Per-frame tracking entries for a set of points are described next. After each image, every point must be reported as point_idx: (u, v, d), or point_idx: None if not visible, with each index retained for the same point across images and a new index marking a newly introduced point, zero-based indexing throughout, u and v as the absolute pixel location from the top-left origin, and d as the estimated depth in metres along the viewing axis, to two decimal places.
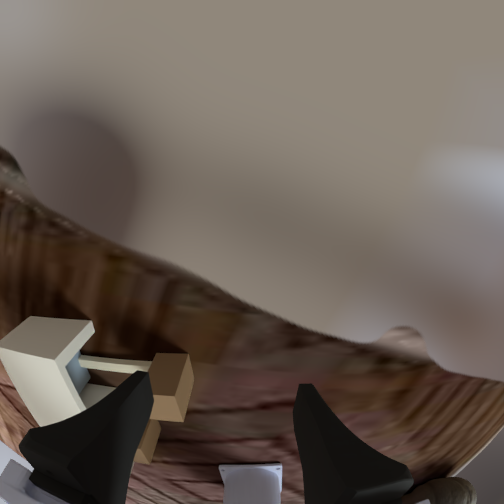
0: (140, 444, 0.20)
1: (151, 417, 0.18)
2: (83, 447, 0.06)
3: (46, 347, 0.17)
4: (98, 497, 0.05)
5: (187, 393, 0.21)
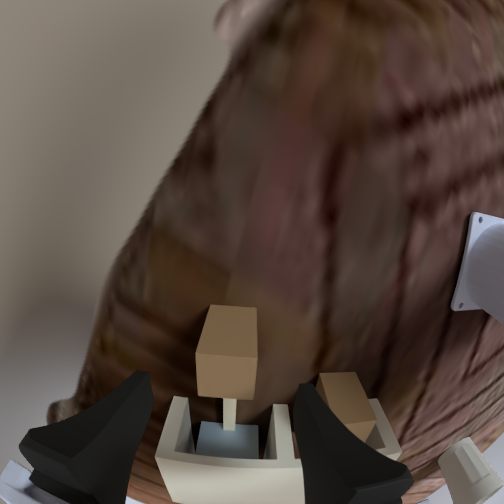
0: None
1: (249, 395, 0.14)
2: (83, 447, 0.06)
3: None
4: (98, 497, 0.05)
5: (243, 328, 0.15)
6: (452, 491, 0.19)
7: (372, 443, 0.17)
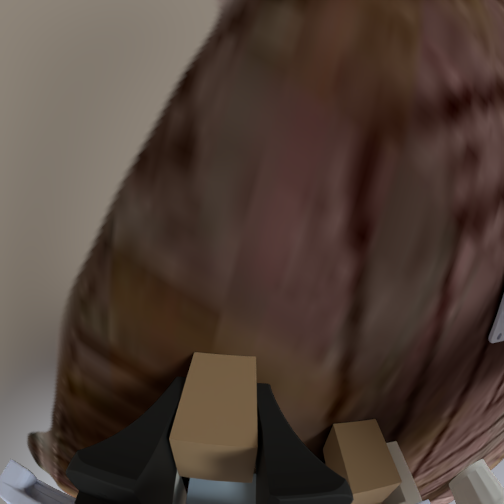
0: None
1: (246, 479, 0.08)
2: (144, 465, 0.06)
3: None
4: None
5: (238, 395, 0.10)
6: None
7: None
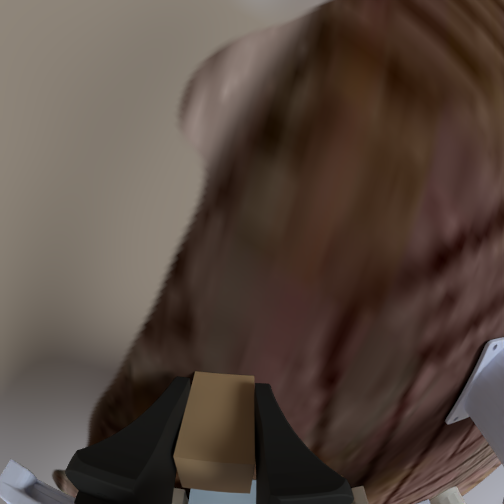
0: None
1: (245, 490, 0.09)
2: (143, 465, 0.06)
3: None
4: None
5: (237, 414, 0.11)
6: None
7: None
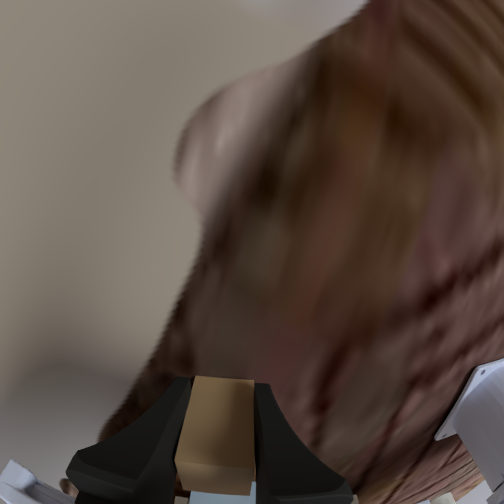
0: None
1: (245, 492, 0.09)
2: (144, 465, 0.06)
3: None
4: None
5: (237, 418, 0.11)
6: None
7: None
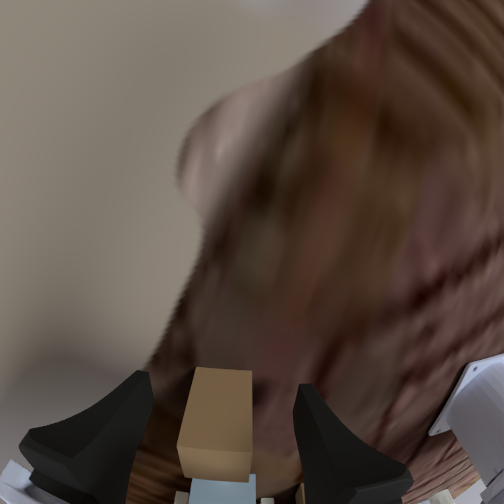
0: None
1: (243, 479, 0.10)
2: (83, 447, 0.06)
3: None
4: (98, 497, 0.05)
5: (236, 406, 0.11)
6: None
7: None
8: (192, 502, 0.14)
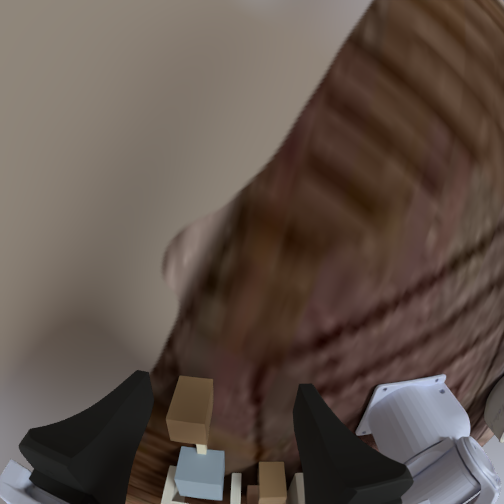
0: (259, 494, 0.22)
1: (203, 442, 0.18)
2: (83, 447, 0.06)
3: None
4: (98, 497, 0.05)
5: (200, 399, 0.20)
6: None
7: (295, 501, 0.24)
8: (179, 468, 0.23)
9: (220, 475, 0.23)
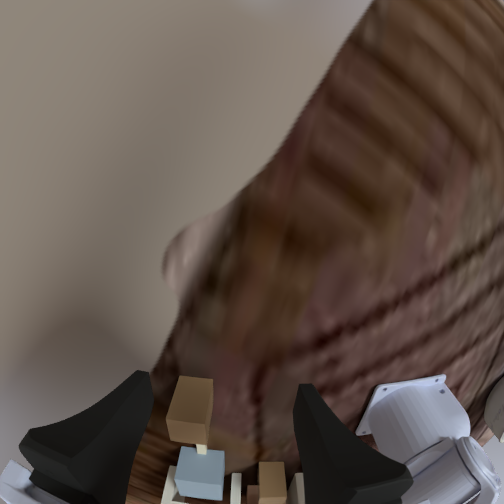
0: (259, 494, 0.22)
1: (203, 442, 0.18)
2: (83, 447, 0.06)
3: None
4: (98, 497, 0.05)
5: (200, 399, 0.20)
6: None
7: (295, 501, 0.24)
8: (179, 468, 0.23)
9: (220, 475, 0.23)
